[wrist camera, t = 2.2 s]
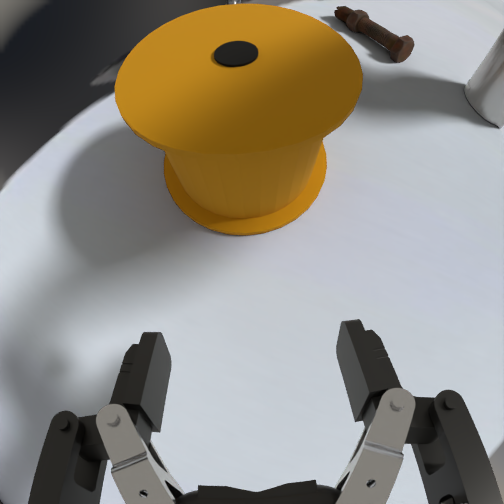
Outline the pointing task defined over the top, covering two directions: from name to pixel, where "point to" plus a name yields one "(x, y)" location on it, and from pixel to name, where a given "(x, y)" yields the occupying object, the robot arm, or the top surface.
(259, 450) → the top surface
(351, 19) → the bolt
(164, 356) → the robot arm
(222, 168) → the spool
